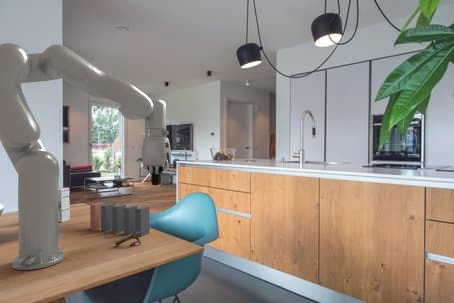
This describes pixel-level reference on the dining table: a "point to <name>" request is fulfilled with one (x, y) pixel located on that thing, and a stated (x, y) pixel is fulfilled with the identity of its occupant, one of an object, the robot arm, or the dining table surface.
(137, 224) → the domino
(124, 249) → the dining table surface
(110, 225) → the domino
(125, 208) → the domino
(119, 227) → the domino
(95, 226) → the domino
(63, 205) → the syrup box
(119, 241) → the wooden post with brackets
